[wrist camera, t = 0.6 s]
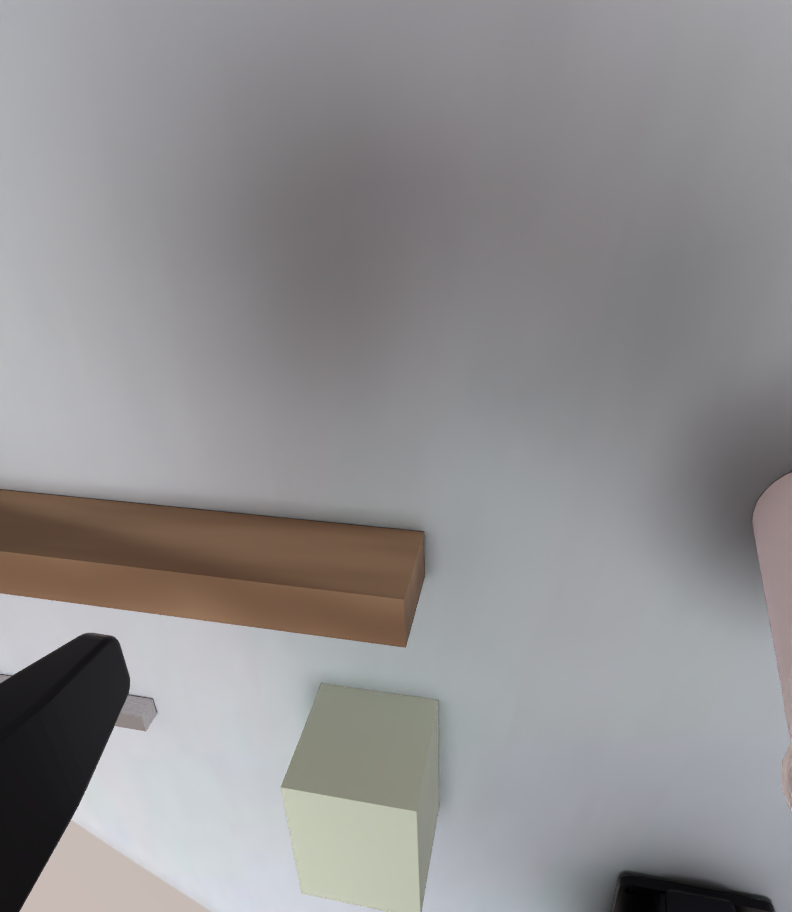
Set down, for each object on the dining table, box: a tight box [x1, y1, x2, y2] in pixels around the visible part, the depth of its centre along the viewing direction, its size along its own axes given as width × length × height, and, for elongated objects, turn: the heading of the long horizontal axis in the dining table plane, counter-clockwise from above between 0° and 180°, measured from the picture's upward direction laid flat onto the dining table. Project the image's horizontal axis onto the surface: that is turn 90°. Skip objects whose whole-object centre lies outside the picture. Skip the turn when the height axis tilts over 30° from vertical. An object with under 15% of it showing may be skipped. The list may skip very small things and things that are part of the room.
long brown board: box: [0, 490, 425, 647], centre depth 25 cm, size 2×24×4 cm, turn 92°
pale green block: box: [281, 683, 439, 912], centre depth 28 cm, size 8×5×5 cm, turn 2°
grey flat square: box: [0, 675, 157, 731], centre depth 30 cm, size 10×10×1 cm
